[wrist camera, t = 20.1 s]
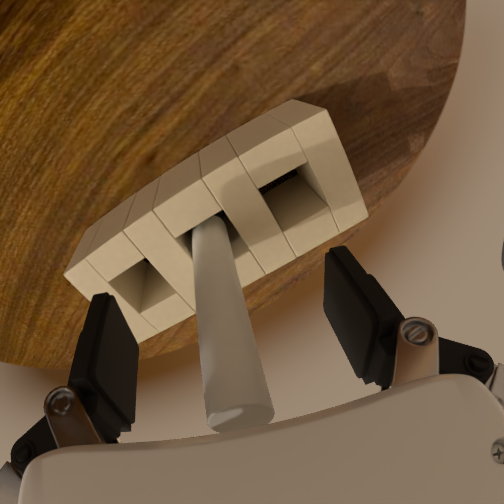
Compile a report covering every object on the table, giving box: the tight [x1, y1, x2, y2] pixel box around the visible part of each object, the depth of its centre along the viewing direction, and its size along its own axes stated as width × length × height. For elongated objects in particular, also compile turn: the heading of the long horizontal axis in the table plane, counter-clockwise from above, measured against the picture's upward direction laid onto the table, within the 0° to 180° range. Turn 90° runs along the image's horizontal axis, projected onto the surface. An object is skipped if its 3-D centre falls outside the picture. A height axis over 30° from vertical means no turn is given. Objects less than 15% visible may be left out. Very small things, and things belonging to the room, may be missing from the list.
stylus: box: [191, 210, 274, 433], centre depth 13 cm, size 2×2×14 cm
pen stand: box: [64, 99, 369, 343], centre depth 17 cm, size 15×6×5 cm, turn 119°
